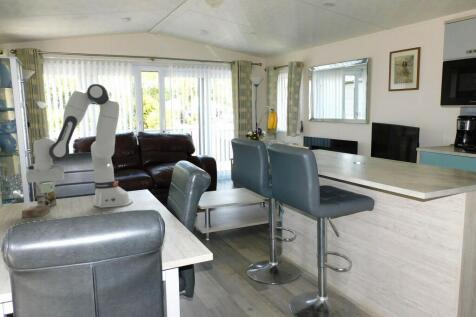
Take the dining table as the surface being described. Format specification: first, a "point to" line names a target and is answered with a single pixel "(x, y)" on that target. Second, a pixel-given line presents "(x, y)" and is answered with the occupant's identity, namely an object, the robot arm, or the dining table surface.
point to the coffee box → (45, 197)
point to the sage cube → (46, 187)
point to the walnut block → (35, 211)
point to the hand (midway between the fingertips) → (47, 189)
